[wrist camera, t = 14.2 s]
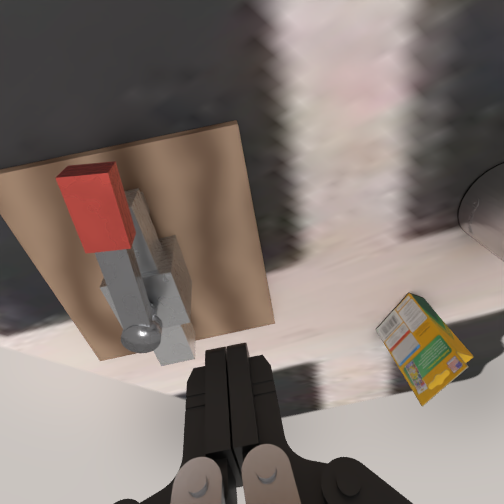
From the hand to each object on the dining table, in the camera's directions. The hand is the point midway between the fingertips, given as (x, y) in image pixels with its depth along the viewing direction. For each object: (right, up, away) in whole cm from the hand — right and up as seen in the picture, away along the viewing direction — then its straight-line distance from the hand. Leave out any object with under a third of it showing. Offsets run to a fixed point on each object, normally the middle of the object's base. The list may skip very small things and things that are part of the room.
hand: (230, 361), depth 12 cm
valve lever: (-9, +4, +13) cm, 16 cm away
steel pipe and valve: (-9, +3, +22) cm, 24 cm away
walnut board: (-9, +3, +23) cm, 25 cm away
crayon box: (+21, -4, +33) cm, 39 cm away
